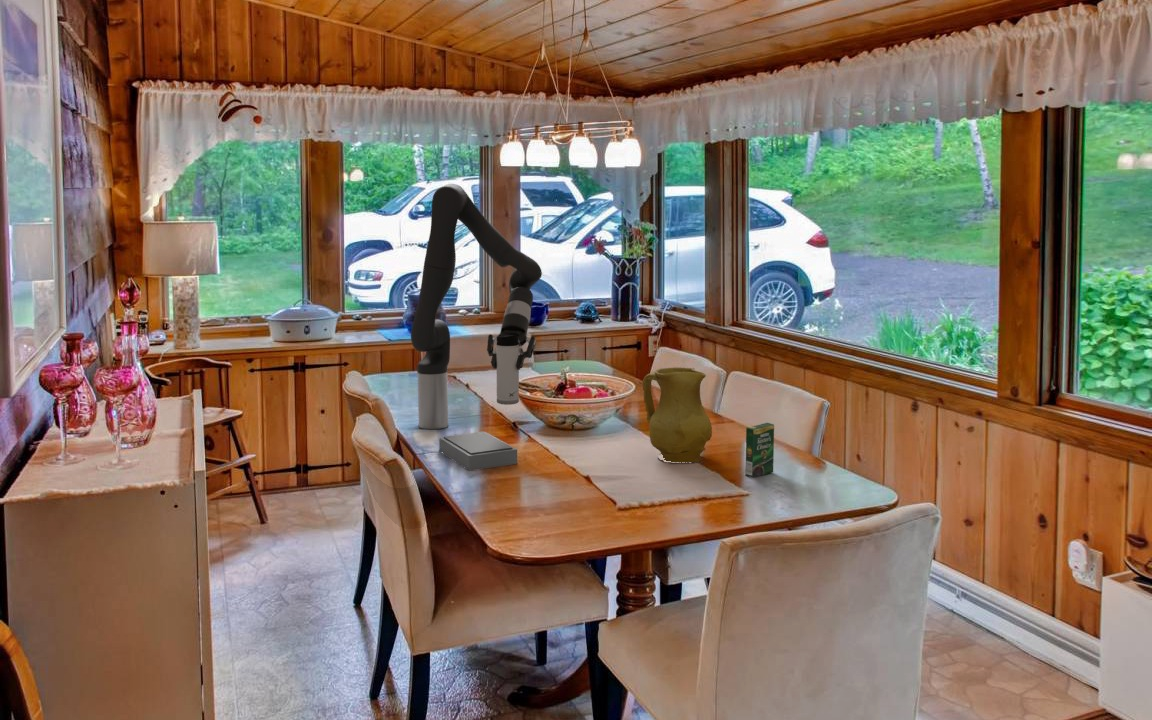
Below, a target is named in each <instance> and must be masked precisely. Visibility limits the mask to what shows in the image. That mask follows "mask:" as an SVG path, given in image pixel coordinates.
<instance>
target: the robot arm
mask: <svg viewBox="0 0 1152 720" xmlns="http://www.w3.org/2000/svg"><path fill="white" fill-rule="evenodd" d="M430 216H431V218H430V220H431V222H430V232H429V237H428V241H427V246H426V251H425V257H424V262H423V268H422V269H423V270H422V276H421V277H422V278H421V283H420V285H421V286H420V289H419V296H418V302H417V305H416V310H415V315H414V318H413V322H412V325H411V330H410V340H411V345H412V346H413V348H414V349H415V350H416V351H418V352H421V353H425V354H424V356H423V358H422V359H421V360H420V361H418V362H417V367H416V370H417V371H416V373H417V405H418V406H417V407H418V408H417V410H418V415H417V416H418V427H419V428H421V429H426V430H437V429H438V430H439V429H444V428H447V427H449V389H448V388H449V387H448V386H449V383H448V367H449V364H450V359H451V353H450V352H451V333H450V329H449V326H448V324H447V323H446V322H445V321H443V320H442V319H436V318H437V313H438V310H439V307H440V305H441V303H442V302H443V300H444V299H445V297H446V296H447V293H448V292H449V291H450V288H451V287H452V284H453V280H454V275H455V270H456V269H455V268H456V263H457V262H456V260H457V259H456V257H457V256H456V243H455V242H456V241H455V236H456V234H455V233H456V229H457V224H458V221H459V222H461V224H463V225H464V226H465V227H466V229H468V231H470V233H471V234H472V235H473V237H474V239H475V240H476V241H477V244H478V245H479V246H480V247H481V249H483V250H484V252H485V253H486V254H487V256H489V258H491V259H492V260H493V261H494V262H495V263H496V264H497V265H498V266H499V267H500V268H507V267H508V266H511V267H512V268H514V271H513V272H512V273H511V275H510V278H509V281H508V286H509V287H508V288H509V289H508V291H509V297H508V300H507V305H506V308H505V311H504V314H503V319H502V324H501V327H500V331H499V334H498V335H493V334H491V333H490V334H488V336H487V348H486V352H487V354H488V356H489V357H491V361H490V364H491V367H492V369H494V370H497V352H496V347H495V348H494V345H496V344H497V336H499V335H501V334H507V333H520V336H518V339H519V341H518V342H519V346H518V347H519V356H518V359H517V364H516V367H517V370H519V371H520V370H521V369H522V368H523V366H524V362H525V359H526V358H528V359H530V358H532V356H533V353H534V351H535V348H536V344H537V339H536V337H535V336H533V335H532V336H531V337H530V336H529V337H527V336H528V330H529V325H530V322H531V312H532V311H531V310H532V307H533V301H534V295H533V294H534V293H533V291H531V288H532V287H534V285H535V284H536V283H538V281H540V279H541V278H542V277H543V276H542V275H543V272H542V267H540V265H539V264H538V262H537V261H535V259H533V258H531V257H530V256H528V255H527V254H525V253H523V252H521V251H520V250H518V249H516V247H514V246H513V245H512V244H511V243H510V242H509V241H508V239H506V238H505V237H504V236H503V234H502V233H500V232H499V230H498V229H496V227H495V226H493V224H492V223H490V221H489V220H488V219H487V218H486V217H485V216H484V215H483V213H482V212H481V211H480V209H478V207H477V206H476V205H475V203H474V202H473V200H472V198H470V196H469V194H468V193H467V192H466V190H465V189H464V188H463V187H462V186H460V185H459V184H456V183H447V184H444V185H441V186H440V187H439V188H437V189H436V190H435V192H434V193H433V196H432V199H431V215H430ZM526 343H527V348H526V350H525V351H524V350H523V346H524V345H525V344H526Z"/></svg>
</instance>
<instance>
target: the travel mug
mask: <svg viewBox="0 0 1152 720" xmlns="http://www.w3.org/2000/svg"><path fill="white" fill-rule="evenodd" d="M498 335H499V334H498ZM498 335H496V336H497V341H496V343H495V345H496V347H495V348H496V352H497V368H496V403H497V404H500V405H507V406H510V405H517V404H518V403H519V402H520V398H519V397H520V391H519V389H520V385H519V383H520V378H519V377H520V373H519V371H520V370H517V367H516V364H517V359H518V356H519V347H518V346H519V342H518V341H519V339H518V336H520V333H507V334H501V335H499V336H498Z"/></svg>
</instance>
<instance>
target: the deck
mask: <svg viewBox="0 0 1152 720" xmlns="http://www.w3.org/2000/svg"><path fill="white" fill-rule="evenodd" d="M438 439H439V441H438V442H439V443H438V447H439V449H438V450H439V452H440V451H441V452H443V453H444V454H445V455H444V454H443V453H442V454H443V455H444V456H446V455H447V456H448V458H449V457H450V458H449V459H450V460H452V459H453V460H452V461H454V462H455V461H456V462H455V463H456V464H458V463H459V464H458V465H460V466H461V465H462V466H461V467H463V468H464V467H465V468H464V469H466V470H467V469H468V470H467V471H469V472H470V470H471V471H476V470H477V469H478V470H484V468H485V469H489V468H495V467H496V468H497V467H503V466H511V465H517V464H518V448H516V447H514V446H512V445H511V444H508V443H507V442H505V441H503V440H502V439H499V438H498V437H495V436H493V435H492V434H490V433H488V432H487V431H478V432H469V433H461V434H454V435H453V434H452V435H445V436H440V437H438ZM441 452H440V453H441ZM447 456H446V457H447Z"/></svg>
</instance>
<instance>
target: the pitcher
mask: <svg viewBox="0 0 1152 720" xmlns="http://www.w3.org/2000/svg"><path fill="white" fill-rule="evenodd" d="M706 377H707V375H706V374H705V372H702V371H699V370H695V368H694V367H683V366H682V367H677V366H676V367H674V366H673V367H664V368H663V367H662V368H657V369H655V370H654V371H651V372H650V373H648V374H646V375H645V376H644V377H643V379H642V391H643V403H644V405H645V406H644V407H645V411H646V420H647V423H648V433H649V434H648V435H649V440H650V444H651V445H652V447H654V448H655V449H656V450H658V451H659V452H660V454H662V455H663V458H665V459H664V460H666V461H671V462H681V463H682V462H685V463H684V464H687V463H686V462H696V463H699V462H702V461H703V456H702V455H701V454H702V453H703V452H704V451H705V450H706V448H705V446H706V443H707V442H708V441H710V440H711V438H712V436H713V427H712V422H711V420H710V417H709V415H707V412H706V410H705V408H704V406H703V403H702V398H701V384H702V381H703V379H705V378H706ZM652 381H655V382H656V383H657V384H658V386H659V387H660V396H659V401H658V404H657V407H656V408H655V404H654V400H653V395H652ZM682 464H683V463H682Z"/></svg>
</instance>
